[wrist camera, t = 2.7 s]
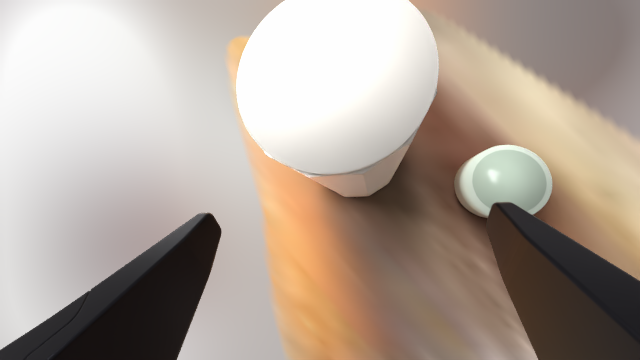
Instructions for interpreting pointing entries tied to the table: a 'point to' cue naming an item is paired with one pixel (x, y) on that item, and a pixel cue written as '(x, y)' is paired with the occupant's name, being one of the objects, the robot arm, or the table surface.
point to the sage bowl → (503, 180)
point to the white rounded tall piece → (338, 88)
